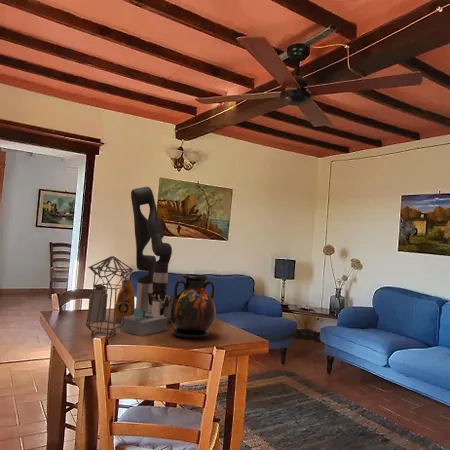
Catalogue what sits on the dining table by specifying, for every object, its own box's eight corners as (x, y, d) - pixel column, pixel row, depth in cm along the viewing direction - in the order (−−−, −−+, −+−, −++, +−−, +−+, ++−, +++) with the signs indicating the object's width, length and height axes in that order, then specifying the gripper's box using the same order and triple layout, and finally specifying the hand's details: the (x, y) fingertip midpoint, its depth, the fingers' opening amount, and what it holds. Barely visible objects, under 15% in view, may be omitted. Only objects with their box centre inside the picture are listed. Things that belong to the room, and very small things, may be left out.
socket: (145, 325, 202) (146, 313, 202) (166, 330, 194) (167, 317, 194) (119, 330, 187) (120, 317, 187) (142, 336, 180) (143, 322, 180)
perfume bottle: (105, 319, 207) (108, 284, 208) (100, 322, 201) (103, 286, 201) (93, 318, 208) (95, 283, 209) (87, 321, 201) (90, 285, 202)
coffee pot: (157, 322, 210) (159, 293, 210) (155, 318, 221) (157, 290, 221) (197, 323, 215) (199, 295, 215) (193, 318, 226) (195, 292, 226)
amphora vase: (171, 341, 174) (176, 276, 175) (165, 329, 195) (169, 271, 196) (219, 341, 180) (224, 278, 181) (208, 330, 201) (212, 273, 202)
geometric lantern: (96, 330, 185) (104, 254, 187) (128, 334, 182) (136, 257, 184) (77, 337, 170) (87, 254, 171) (112, 342, 167) (121, 258, 168)
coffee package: (111, 323, 200) (115, 279, 201) (116, 318, 212) (119, 276, 213) (132, 324, 201) (135, 280, 202) (135, 319, 213) (138, 277, 214)
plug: (156, 319, 211) (158, 298, 211) (163, 320, 208) (165, 299, 208) (150, 320, 207) (152, 299, 207) (157, 322, 204) (159, 300, 204)
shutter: (134, 316, 190) (135, 308, 190) (145, 319, 186) (146, 311, 186) (124, 318, 184) (125, 310, 185) (135, 321, 181) (136, 312, 181)
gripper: (144, 280, 208) (142, 313, 208) (166, 283, 201) (163, 317, 201) (154, 279, 215) (152, 311, 214) (175, 282, 207) (173, 315, 207)
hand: (157, 314), depth 207 cm, fingers closed on plug, 4 cm apart
